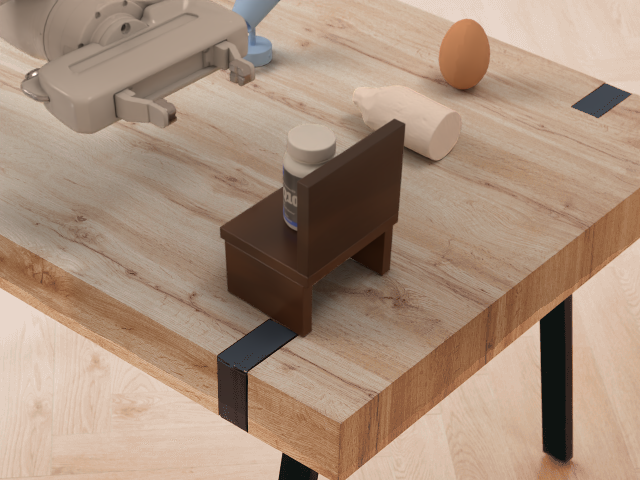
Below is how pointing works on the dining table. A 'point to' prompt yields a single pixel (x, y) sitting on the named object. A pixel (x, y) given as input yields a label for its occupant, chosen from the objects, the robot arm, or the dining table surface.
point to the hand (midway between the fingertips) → (211, 96)
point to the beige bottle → (411, 118)
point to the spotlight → (254, 7)
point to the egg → (464, 54)
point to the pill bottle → (304, 161)
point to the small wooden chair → (318, 229)
